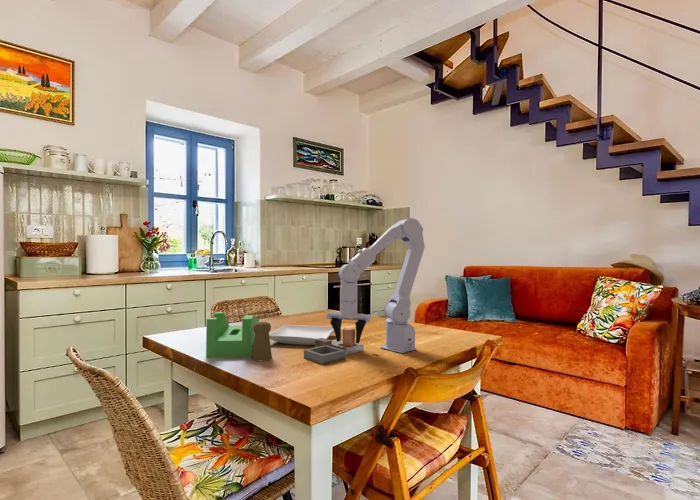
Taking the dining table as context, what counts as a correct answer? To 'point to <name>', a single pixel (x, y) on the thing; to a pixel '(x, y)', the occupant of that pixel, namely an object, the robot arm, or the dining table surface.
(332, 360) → the tray
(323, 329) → the salad plate
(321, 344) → the block
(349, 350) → the grey flat frame
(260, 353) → the brown pawn
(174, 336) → the dining table surface
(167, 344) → the dining table surface
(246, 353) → the ramp block with notch
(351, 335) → the dowel
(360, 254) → the robot arm
